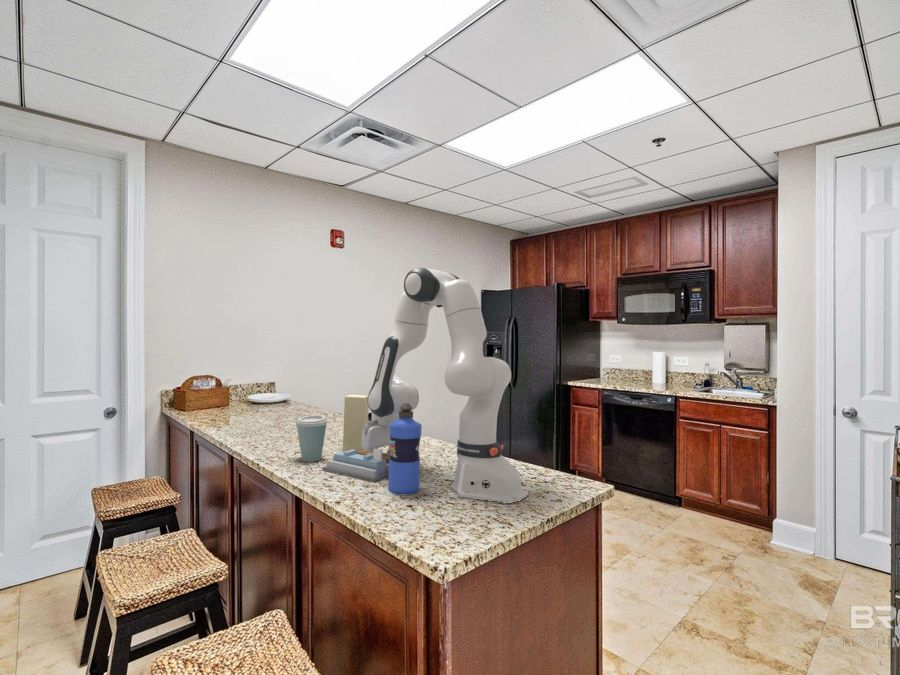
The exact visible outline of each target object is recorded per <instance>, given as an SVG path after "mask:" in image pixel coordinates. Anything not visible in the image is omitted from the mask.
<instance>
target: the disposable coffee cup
mask: <svg viewBox="0 0 900 675" xmlns="http://www.w3.org/2000/svg"><path fill="white" fill-rule="evenodd" d="M327 424H328V420H327V419H326V417H325V415H318V414H315V415H313V414H312V415H306V416H302V417H299V418H298V419H297V421H296V422H295V425H296V430H297V436H298V442H299V449H300V450H299V451H300V456H301V459H302V461H303V462H308V463H309V462H310V463H311V462H312V463H313V462H317V461H320V460H321V458H322V457H323V450H324V443H325V442H324V441H325V438H326V432H327V431H326V430H327Z"/></svg>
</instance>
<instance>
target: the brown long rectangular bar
mask: <svg viewBox="0 0 900 675" xmlns="http://www.w3.org/2000/svg"><path fill="white" fill-rule="evenodd" d="M356 454H360V455H369V454H372V452H371V450H362V451H358V452H356ZM389 458H390V454H387V452H386V453H385V452H382V459H385V460H386V464H389Z"/></svg>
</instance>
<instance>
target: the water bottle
mask: <svg viewBox="0 0 900 675" xmlns="http://www.w3.org/2000/svg"><path fill="white" fill-rule="evenodd" d="M400 409H401V410H402V411H399V417H400V418H399V419H398V420H396V421H394V422H392V423H390V426H389V436H390V444H391V452H390V458H389V477H388V484H387V486H388V487H387V490H388V492H389V491H390V492H389V493H391V492H392V494H394V493H395V495H400V494H407V495H412V493H413V494H416V493H418V492H419V491H420V484H421V482H420V480H421V478H420V477H421V476H420V475H421V457H420V445H421V437H422V428H423V427H422V423H420V422H418V421H417V420H414V411H413V410H411V409H412V406H411V405H410V404H408V403H404V404H402V406H401V407H400Z"/></svg>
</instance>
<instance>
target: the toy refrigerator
mask: <svg viewBox="0 0 900 675" xmlns="http://www.w3.org/2000/svg"><path fill="white" fill-rule="evenodd" d="M367 400H368V395H362V394H361V395H360V394H348V395H346V396H345V397H344V406H343V407H344V408H343V409H344V411H343V433H342V434H343V436H342V452H343V451H345V452H346V451H349V450H356V452H358V451H362V450H365V449H362V447H361V440H362V433H363V429H364V426H365V425H366V424H367V422H369V410H370V408H369V406H368V402H367Z"/></svg>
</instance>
